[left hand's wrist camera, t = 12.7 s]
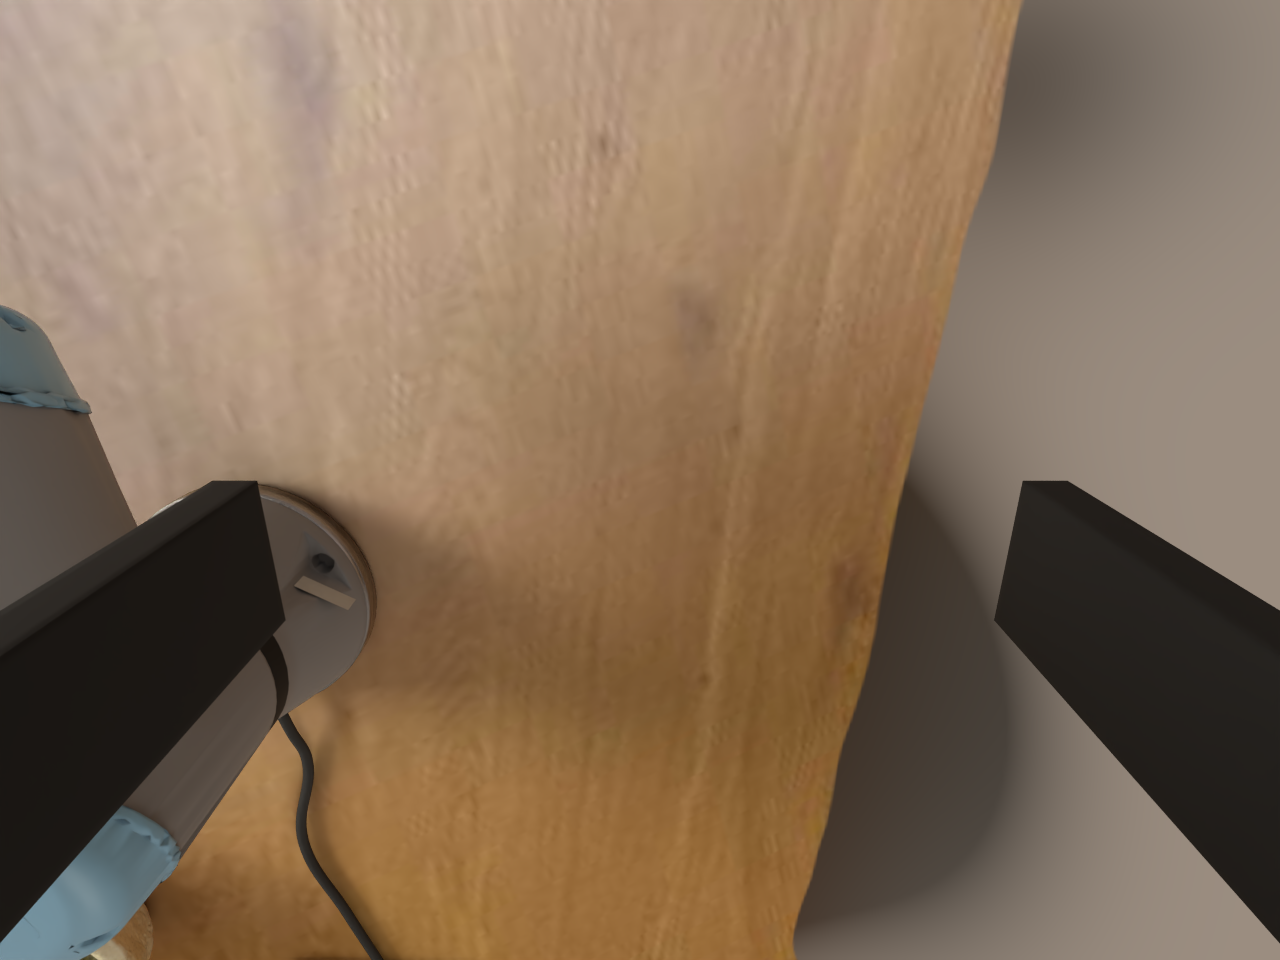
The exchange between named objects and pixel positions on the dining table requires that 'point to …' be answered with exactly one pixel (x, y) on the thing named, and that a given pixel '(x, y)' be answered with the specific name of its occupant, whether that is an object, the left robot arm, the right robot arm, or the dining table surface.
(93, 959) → the bowl
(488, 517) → the dining table surface
